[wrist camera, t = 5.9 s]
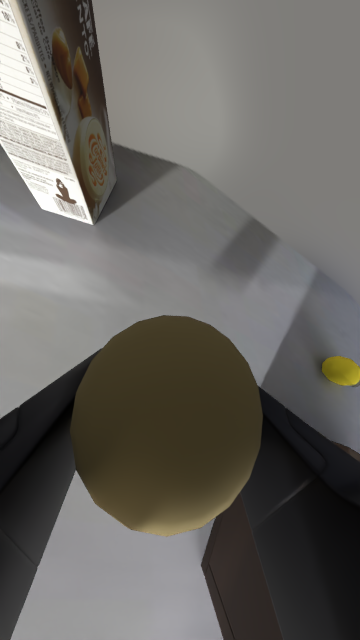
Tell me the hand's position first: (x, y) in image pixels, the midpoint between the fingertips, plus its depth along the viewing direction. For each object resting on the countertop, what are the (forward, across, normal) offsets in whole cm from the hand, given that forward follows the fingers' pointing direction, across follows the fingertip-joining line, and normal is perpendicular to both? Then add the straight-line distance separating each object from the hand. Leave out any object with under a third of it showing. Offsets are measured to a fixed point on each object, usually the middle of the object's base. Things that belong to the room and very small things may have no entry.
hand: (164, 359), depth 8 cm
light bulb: (+7, -24, +7) cm, 26 cm away
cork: (+4, 0, +6) cm, 7 cm away
